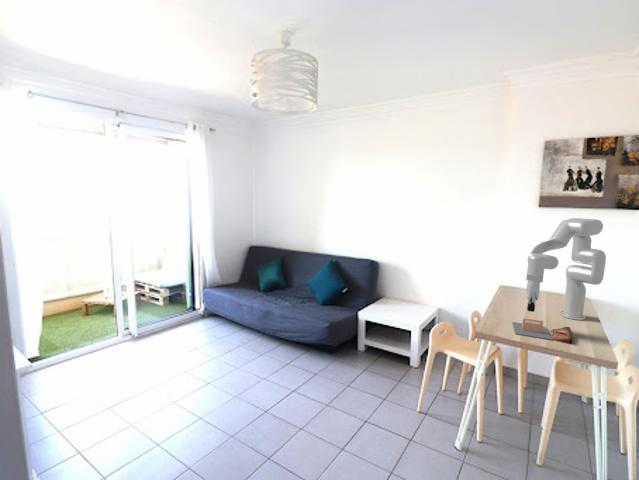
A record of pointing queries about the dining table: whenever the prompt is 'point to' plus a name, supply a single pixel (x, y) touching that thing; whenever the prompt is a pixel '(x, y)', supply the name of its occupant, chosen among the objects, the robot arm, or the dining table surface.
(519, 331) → the mat
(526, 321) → the slab
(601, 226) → the robot arm
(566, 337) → the sunglasses case
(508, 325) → the dining table surface
